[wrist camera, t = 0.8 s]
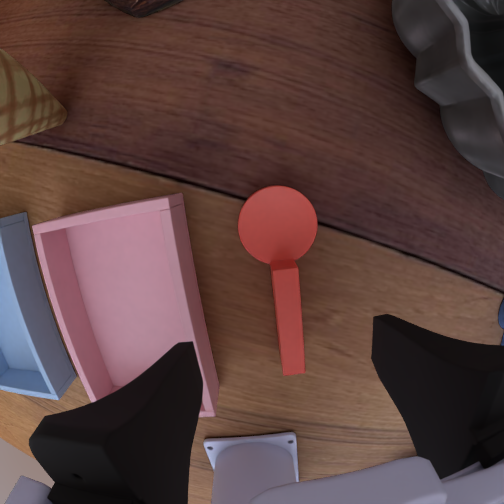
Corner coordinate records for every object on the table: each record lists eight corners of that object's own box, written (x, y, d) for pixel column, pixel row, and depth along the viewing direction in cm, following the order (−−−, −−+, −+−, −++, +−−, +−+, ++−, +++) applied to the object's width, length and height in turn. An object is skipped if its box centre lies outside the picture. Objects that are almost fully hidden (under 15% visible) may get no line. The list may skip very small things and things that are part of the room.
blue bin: (76, 376, 22) (59, 400, 19) (11, 369, 22) (-8, 388, 19) (26, 211, 18) (-3, 219, 15) (-35, 231, 19) (-60, 239, 15)
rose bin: (219, 385, 22) (215, 416, 19) (112, 387, 22) (97, 413, 19) (182, 192, 18) (168, 196, 15) (60, 216, 19) (31, 225, 15)
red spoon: (321, 345, 21) (330, 369, 18) (256, 354, 21) (257, 379, 18) (309, 181, 18) (320, 182, 15) (233, 190, 18) (230, 193, 16)
